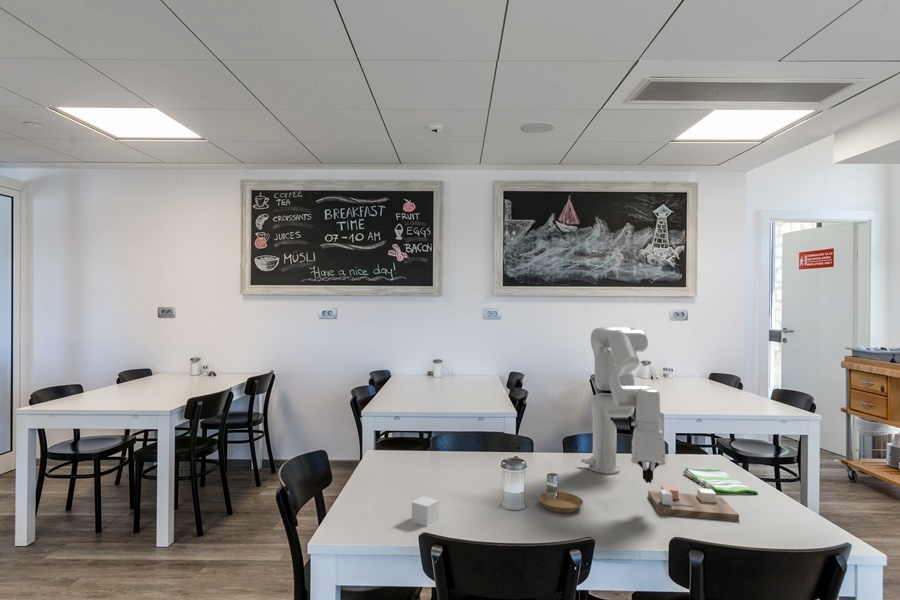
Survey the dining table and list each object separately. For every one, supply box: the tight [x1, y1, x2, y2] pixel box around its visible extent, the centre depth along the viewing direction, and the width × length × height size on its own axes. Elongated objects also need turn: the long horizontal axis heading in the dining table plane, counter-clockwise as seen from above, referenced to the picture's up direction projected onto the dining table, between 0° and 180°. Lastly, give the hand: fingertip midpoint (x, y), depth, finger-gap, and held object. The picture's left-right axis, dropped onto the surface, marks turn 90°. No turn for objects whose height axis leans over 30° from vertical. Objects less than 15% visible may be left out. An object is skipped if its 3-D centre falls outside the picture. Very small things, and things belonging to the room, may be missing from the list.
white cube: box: [411, 495, 440, 527], centre depth 153 cm, size 6×6×6 cm
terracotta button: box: [660, 484, 679, 500], centre depth 171 cm, size 5×5×3 cm
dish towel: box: [682, 466, 759, 496], centre depth 192 cm, size 17×23×4 cm
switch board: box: [647, 490, 740, 522], centre depth 167 cm, size 24×16×2 cm, turn 80°
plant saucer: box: [538, 491, 584, 514], centre depth 166 cm, size 15×15×3 cm
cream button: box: [696, 487, 717, 503], centre depth 169 cm, size 5×5×3 cm
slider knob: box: [659, 488, 672, 505], centre depth 165 cm, size 3×4×4 cm
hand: (647, 481), depth 165 cm, fingers closed
